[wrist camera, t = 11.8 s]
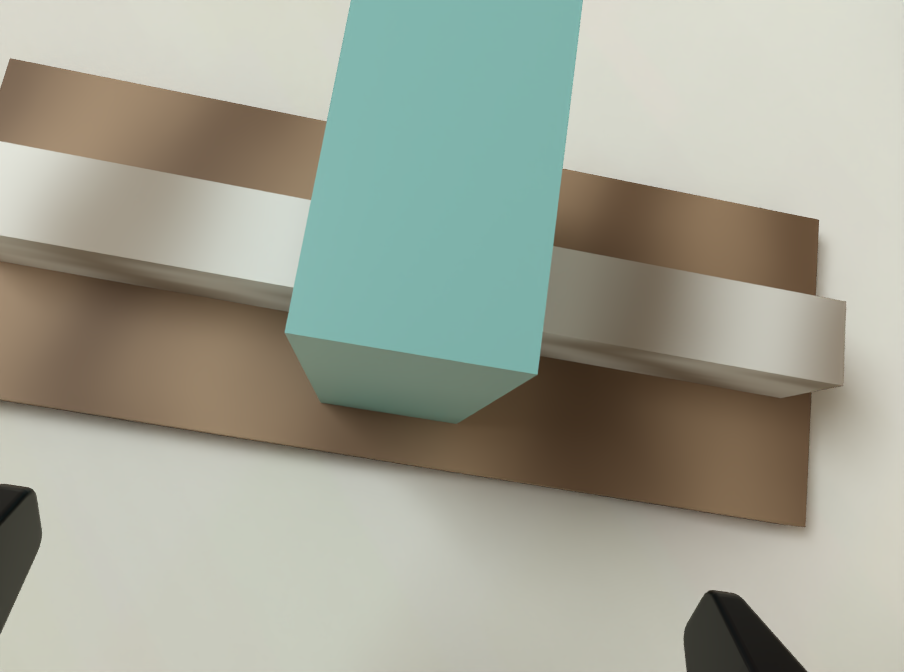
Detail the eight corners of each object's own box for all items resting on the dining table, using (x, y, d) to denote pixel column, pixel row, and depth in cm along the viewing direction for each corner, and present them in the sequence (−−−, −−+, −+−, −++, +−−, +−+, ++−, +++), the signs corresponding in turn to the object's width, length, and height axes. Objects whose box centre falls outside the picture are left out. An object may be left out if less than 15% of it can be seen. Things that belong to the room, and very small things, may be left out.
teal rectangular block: (456, 423, 21) (537, 374, 11) (320, 402, 21) (284, 332, 11) (489, 191, 23) (585, -27, 13) (364, 167, 22) (365, -75, 13)
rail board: (801, 230, 25) (882, 183, 21) (786, 524, 23) (873, 534, 19) (25, 76, 23) (-45, -8, 19) (-73, 388, 21) (-174, 366, 17)
